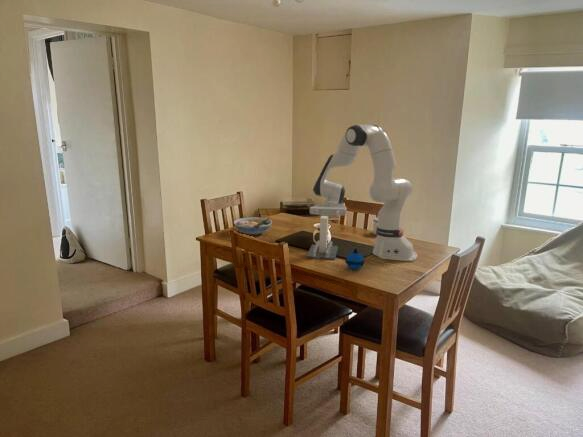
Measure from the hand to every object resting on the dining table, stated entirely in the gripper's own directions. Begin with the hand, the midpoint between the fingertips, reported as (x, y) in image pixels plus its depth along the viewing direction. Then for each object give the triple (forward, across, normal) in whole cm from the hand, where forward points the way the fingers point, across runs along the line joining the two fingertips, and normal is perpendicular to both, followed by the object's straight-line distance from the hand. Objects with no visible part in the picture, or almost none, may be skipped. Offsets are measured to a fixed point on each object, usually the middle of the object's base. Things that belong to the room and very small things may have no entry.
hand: (326, 213), depth 233 cm
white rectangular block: (+12, -1, +18) cm, 21 cm away
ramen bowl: (-15, -45, +17) cm, 51 cm away
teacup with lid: (-34, +30, +19) cm, 49 cm away
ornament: (+33, +16, +20) cm, 41 cm away
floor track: (+12, -1, +18) cm, 22 cm away
